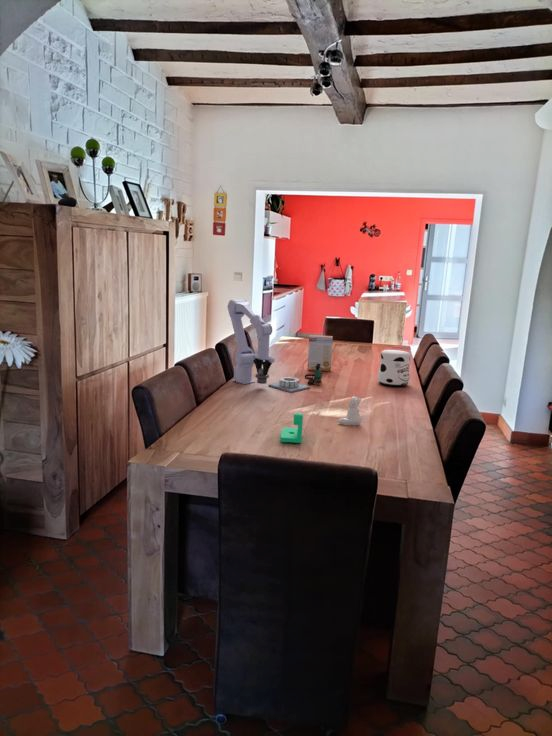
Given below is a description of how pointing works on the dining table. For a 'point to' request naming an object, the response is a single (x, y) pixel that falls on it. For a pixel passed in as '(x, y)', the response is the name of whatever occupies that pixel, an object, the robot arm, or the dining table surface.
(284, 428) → the camera mount
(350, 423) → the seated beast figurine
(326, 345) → the cracker box
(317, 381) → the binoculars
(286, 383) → the segmented white ring
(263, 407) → the dining table surface
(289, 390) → the mount plate
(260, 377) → the grey rounded knob
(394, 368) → the milk container
